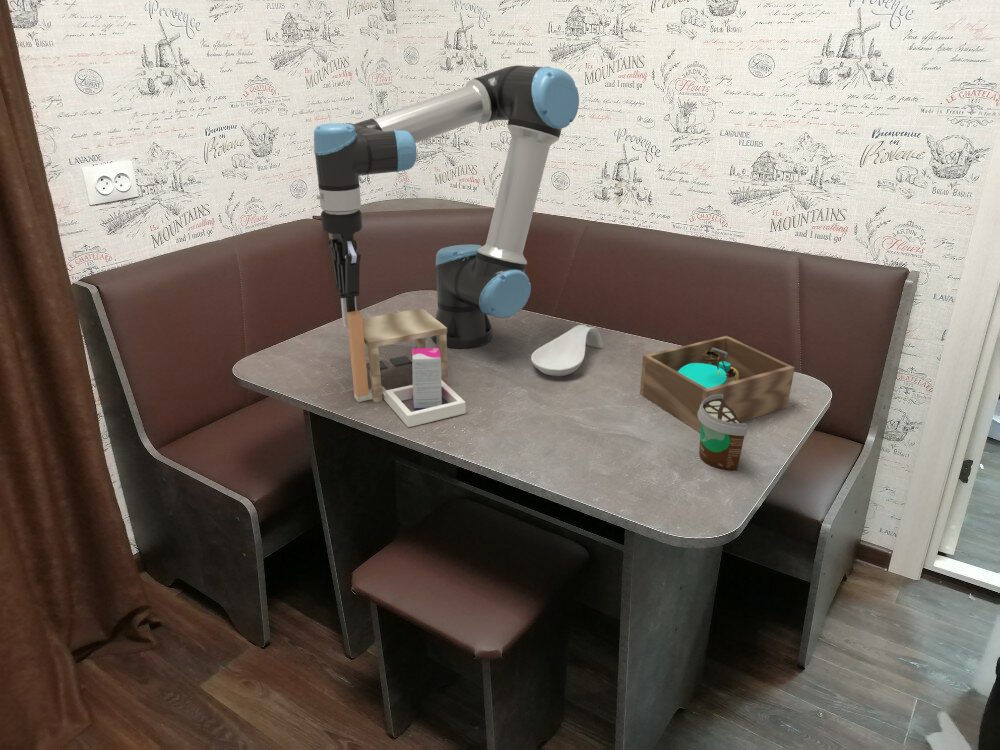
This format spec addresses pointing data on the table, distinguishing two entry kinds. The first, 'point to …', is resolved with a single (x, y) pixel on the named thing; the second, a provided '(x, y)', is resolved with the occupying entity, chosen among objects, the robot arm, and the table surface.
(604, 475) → the table surface
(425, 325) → the small wooden stool
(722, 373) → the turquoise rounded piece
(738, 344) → the teapot crate
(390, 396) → the sled
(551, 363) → the spoon rest
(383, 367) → the plate
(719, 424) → the food container
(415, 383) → the supplement box
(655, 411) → the table surface
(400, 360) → the plate
